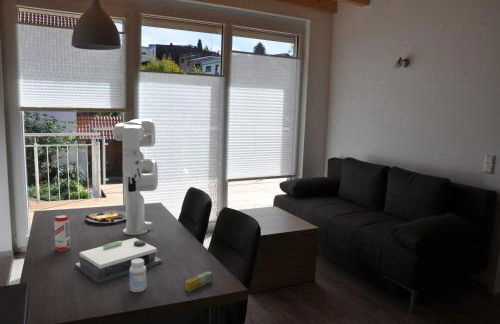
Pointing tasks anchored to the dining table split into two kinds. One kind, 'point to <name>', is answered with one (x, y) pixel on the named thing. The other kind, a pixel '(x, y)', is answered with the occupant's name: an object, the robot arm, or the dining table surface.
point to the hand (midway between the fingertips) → (132, 191)
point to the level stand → (113, 268)
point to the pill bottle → (137, 275)
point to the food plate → (106, 217)
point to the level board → (117, 252)
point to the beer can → (62, 233)
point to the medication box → (198, 281)
